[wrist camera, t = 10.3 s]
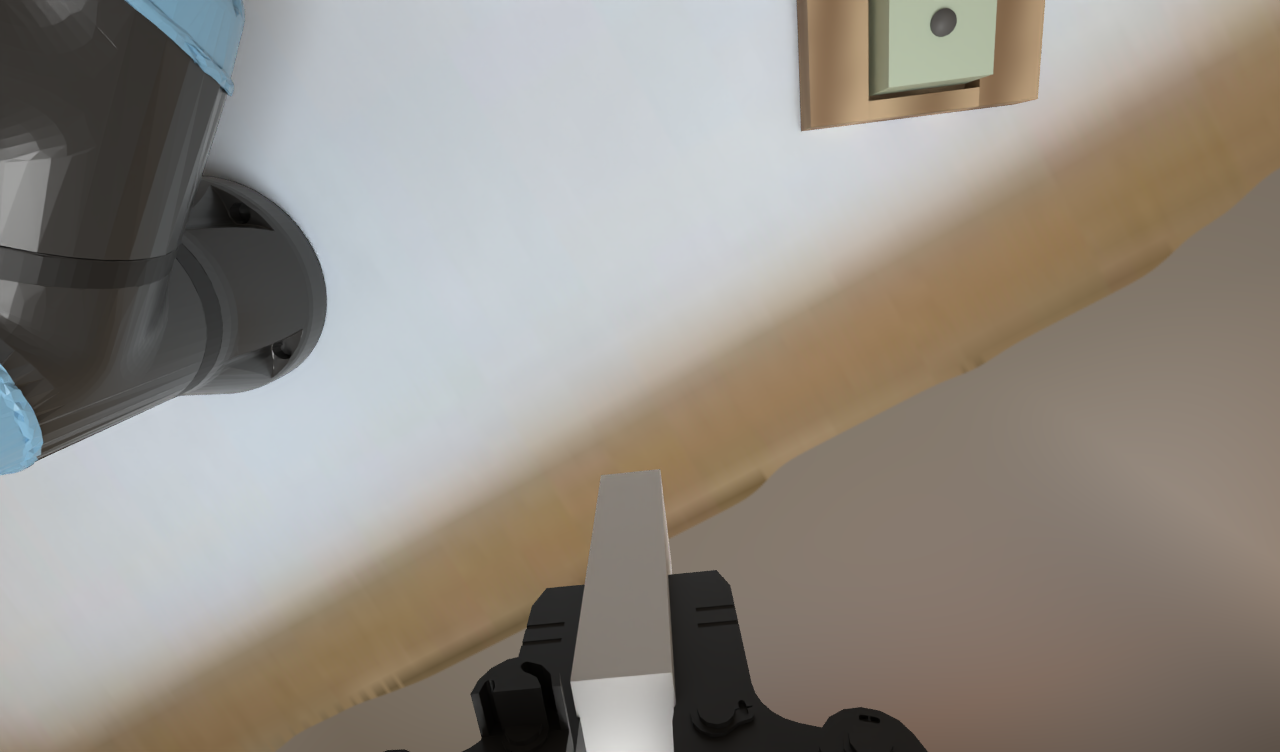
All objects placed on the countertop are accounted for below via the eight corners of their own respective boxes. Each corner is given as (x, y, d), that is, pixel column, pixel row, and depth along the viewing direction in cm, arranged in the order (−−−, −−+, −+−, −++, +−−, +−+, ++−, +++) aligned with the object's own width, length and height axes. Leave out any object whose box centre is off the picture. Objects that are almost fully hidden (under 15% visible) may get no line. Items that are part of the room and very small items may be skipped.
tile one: (869, 96, 38) (890, 87, 34) (868, -12, 36) (891, -32, 33) (964, 83, 37) (995, 73, 34) (968, -26, 36) (1001, -47, 32)
